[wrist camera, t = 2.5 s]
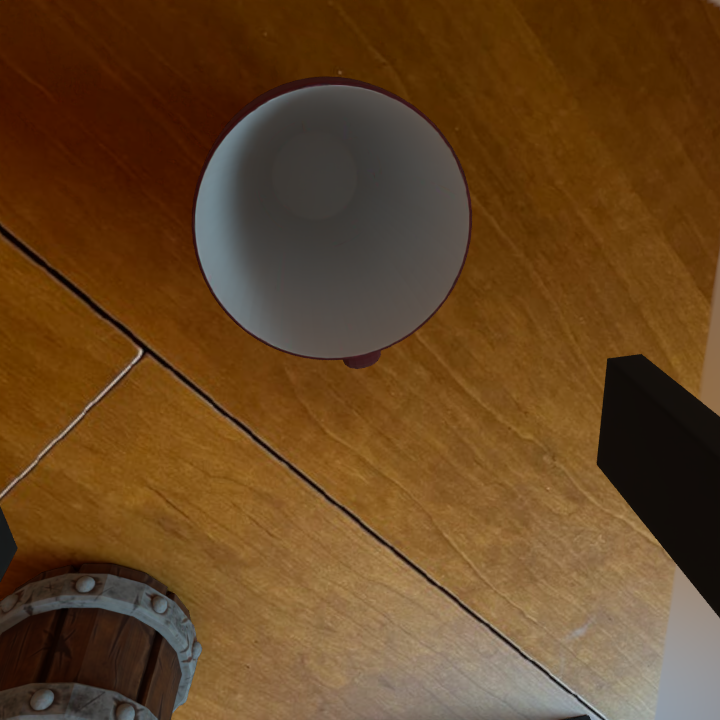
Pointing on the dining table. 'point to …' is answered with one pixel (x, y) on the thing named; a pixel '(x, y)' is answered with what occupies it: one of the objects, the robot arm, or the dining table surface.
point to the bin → (580, 718)
